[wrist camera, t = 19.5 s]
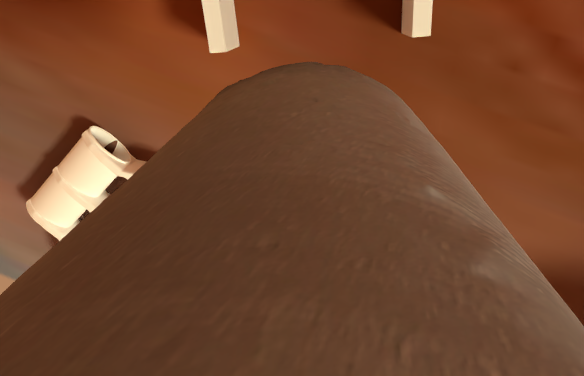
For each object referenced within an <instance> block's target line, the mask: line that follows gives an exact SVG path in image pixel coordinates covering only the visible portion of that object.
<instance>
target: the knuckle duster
mask: <svg viewBox="0 0 584 376" xmlns="http://www.w3.org/2000/svg"><path fill="white" fill-rule="evenodd" d="M114 140H117V139H116V138H115V137H114V136H113V135H111V134H110V133H109V132H107V131H105V130H104V129H102V128H100V127H97V126H91V127H90V128H89V129H88V130H86V131H84V132H83V134H82V137H81V138H80V140H79V141H78V142H77V143H76V145H75V146H74V147H73V148H72V149H71V151H70V152H69V153H68V154H67V155H66V157H65V158H64V159H63V160H62V162H61V163H60V164H59V165H58V166H56V167H55V168H54V169H53V170H52V171H53V173H52V174H51V175H50V176H49V177H48V179H47V180H46V181H45V182H44V183H43V185H42V186H41V187H40V188H39V190H38V191H37V192H36V193H35V194H34V196H33V197H32V198H30V199H29V200H28V201H27V202H26V208H27V210H28V212H29V214H30V216H31V217H32V218H33V219H34V220H35V221H36V222H37V223H38V224H40V225H41V226H42V227H43V228H44V229H45V230H47V231H48V232H49V233H51V234H52V235H53V236H54V237H56V238H57V239H58V240H59V241H60V240H61V239H62V238H63V237H64V236H66V235H67V234H68V233H69V232H70V231H71V230H72V229H73V228H74V227H75V226H76V225H77V224H79V223H80V221H79V220H78V218H79V217H80V216H81V215H82V214H83V213H84V212H85V211H86V209H87V210H88V211H89V212H90V213H91V212H92V211H93V210H94V209H95V208H96V207H97V206H99V205H100V204H101V203H102V201H103V200H104V199H106V198H107V197H108V196H109V195H110V194H109V193H108V192H107V191H105V189H106V188H107V187H108V186H109V185H110V183H111V182H112V181H113V180H114V179H115V178H116V177H117V176H120V177H124V178H126V179H127V180H128V179H129V178H130V177H131V176H132V175H133V174H134V173H135V172H136V171H137V170H138V169H139V168H140V167H141V166H143V165H144V164H145V163H146V161H141V160H137V159H136V158H134V157H133V156H132V155H131V154H130V153H129V151H128V150H127V149H126V147H125V146H124V145H123V144H122V143H120V142H119V141H118V140H117V141H118V143H117V146H116V148H115V150H114V152H113V154H111V153H109V152H108V151H107V150H106V149H104V147H105V146H107V145H108V144H109V143H111V142H113V141H114Z"/></svg>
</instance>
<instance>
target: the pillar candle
mask: <svg viewBox="0 0 584 376" xmlns="http://www.w3.org/2000/svg"><path fill="white" fill-rule="evenodd" d="M0 376H584V326H583V325H582V323H581V322H580V321H579V320H578V318H577V317H576V316H575V314H574V313H573V312H572V310H571V309H570V308H569V307H568V305H567V304H566V303H565V302H564V301H563V299H562V298H561V297H560V295H559V294H558V293H557V292H556V291H555V289H554V288H553V287H552V286H551V284H550V283H549V282H548V281H547V279H546V278H545V277H544V275H543V274H542V273H541V272H540V270H539V269H538V268H537V266H536V265H535V264H534V263H533V261H532V260H531V259H530V258H529V256H528V255H527V254H526V253H525V251H524V250H523V249H522V248H521V247H520V245H519V244H518V243H517V241H516V240H515V239H514V238H513V236H512V235H511V234H510V233H509V231H508V230H507V229H506V227H505V226H504V225H503V224H502V222H501V221H500V220H499V219H498V218H497V216H496V215H495V214H494V213H493V211H492V210H491V209H490V208H489V206H488V205H487V204H486V202H485V201H484V200H483V199H482V197H481V196H480V195H479V193H478V192H477V191H476V189H475V188H474V187H473V185H472V184H471V183H470V182H469V180H468V179H467V178H466V177H465V175H464V174H463V173H462V171H461V170H460V169H459V167H458V166H457V165H456V163H455V162H454V161H453V160H452V158H451V157H450V156H449V154H448V153H447V152H446V151H445V149H444V148H443V147H442V146H441V144H440V143H439V142H438V141H437V140H436V139H435V138H434V137H433V135H432V134H431V133H430V132H429V131H428V129H427V128H426V127H425V125H424V124H423V123H422V122H421V121H420V119H419V118H418V117H417V116H416V115H415V114H414V112H413V111H412V110H411V109H410V108H409V107H408V106H407V105H406V104H405V102H404V101H403V100H402V99H401V98H400V97H398V96H397V95H396V94H395V93H394V92H393V91H391V90H390V89H389V88H387V87H386V86H384V85H383V84H381V83H379V82H378V81H376V80H374V79H372V78H370V77H368V76H366V75H363V74H361V73H358V72H356V71H354V70H351V69H349V68H347V67H344V66H337V65H323V64H321V63H318V62H303V63H295V64H288V65H283V66H279V67H275V68H271V69H268V70H265V71H262V72H260V73H258V74H256V75H254V76H252V77H250V78H246V79H244V80H240V81H238V82H237V83H234V84H232V85H230V86H227V87H226V88H224V89H223V90H222V91H220V92H219V93H218V94H217V95H216V97H215V98H214V99H213V100H211V102H210V103H208V105H207V106H206V107H205V108H204V109H203V110H202V111H201V112H200V113H199V114H198V115H197V116H196V117H195V118H194V119H192V120H191V121H190V122H189V123H188V124H187V125H185V126H184V127H183V128H182V129H181V130H180V131H179V132H178V133H177V134H176V135H175V136H174V137H173V138H172V139H171V140H169V141H168V142H167V143H166V144H165V145H164V146H163V147H162V148H161V149H160V150H159V151H157V152H156V153H155V154H154V155H153V156H152V157H151V158H150V159H149V160H148V161H147V162H146V163H145V164H144V165H143V166H141V167H140V168H139V169H138V170H137V171H136V172H135V173H134V174H133V175H132V176H131V177H130V178H129V179H128V180H127V181H126V182H125V183H123V184H122V185H121V186H120V187H119V188H118V189H117V190H116V191H114V192H113V193H112V194H110V195H109V196H108V197H107V198H106V199H104V200H103V201H102V203H101V204H100V205H99V206H97V207H96V208H95V209H94V210H93V211H92V212H91V213H89V214H88V215H87V216H86V217H85V218H84V219H83V220H82V221H81V222H80V223H79V224H77V225H76V226H75V227H74V228H73V229H72V230H71V231H70V232H69V233H68V234H67V235H66V236H64V237H63V238H62V239H61V240H60V241H59V242H58V243H57V244H56V245H55V246H54V247H53V248H52V249H50V250H49V251H48V252H47V253H46V254H45V255H44V256H43V257H41V258H40V259H39V260H38V261H37V262H36V263H35V264H34V265H32V266H31V267H30V268H29V269H28V270H27V271H25V272H24V273H23V274H22V275H21V276H20V277H19V278H18V279H17V280H16V281H15V282H13V283H12V284H11V285H10V286H9V287H8V288H7V289H6V290H5V291H4V292H3V293H2V294H1V295H0Z"/></svg>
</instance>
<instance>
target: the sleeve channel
mask: <svg viewBox="0 0 584 376" xmlns="http://www.w3.org/2000/svg"><path fill="white" fill-rule="evenodd" d="M432 4H433V0H402V29H401V33H402V34H405V35H407V36H410V37H423V36H430V35H431V20H432ZM202 6H203V12H204V19H205V25H206V31H207V37H208V43H209V50H210V53H219V52H227V51H230V50H232V49H234V48H236V47H239V38H238V31H237V23H236V15H235V8H234V0H202Z"/></svg>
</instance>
